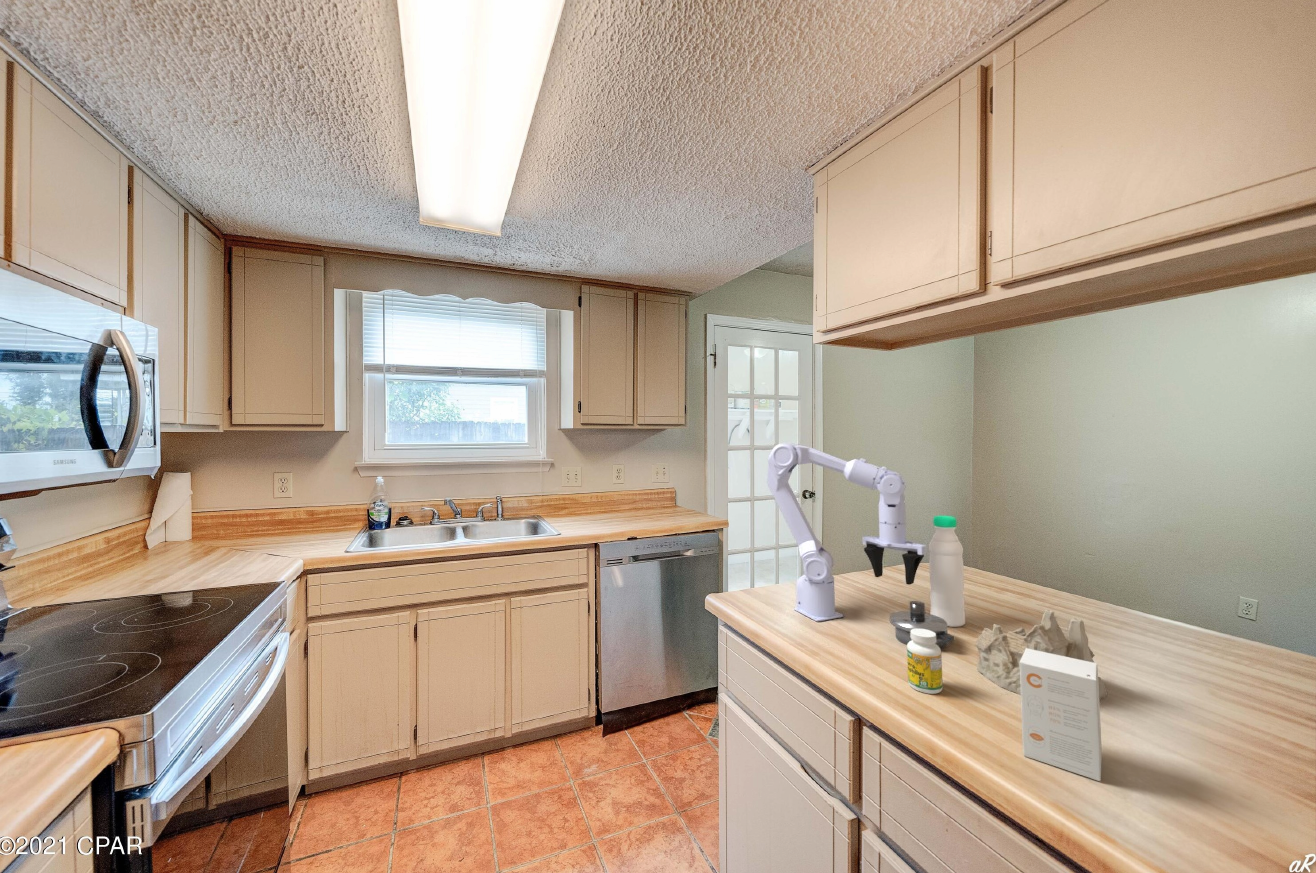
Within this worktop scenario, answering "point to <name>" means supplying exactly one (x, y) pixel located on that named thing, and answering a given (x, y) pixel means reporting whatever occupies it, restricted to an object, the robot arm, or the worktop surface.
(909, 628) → the lid
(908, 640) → the pot
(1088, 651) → the ceramic cottage
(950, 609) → the water bottle
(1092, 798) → the worktop surface
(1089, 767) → the small box
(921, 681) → the supplement bottle
